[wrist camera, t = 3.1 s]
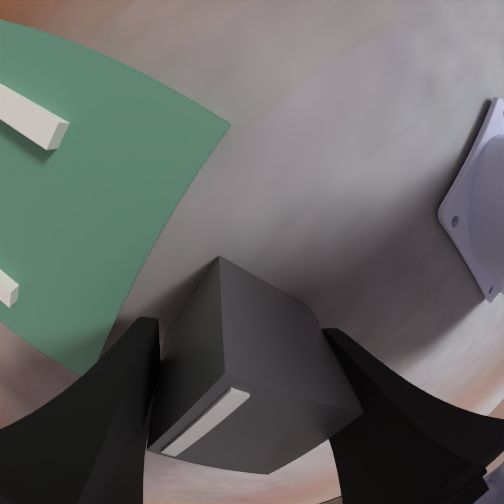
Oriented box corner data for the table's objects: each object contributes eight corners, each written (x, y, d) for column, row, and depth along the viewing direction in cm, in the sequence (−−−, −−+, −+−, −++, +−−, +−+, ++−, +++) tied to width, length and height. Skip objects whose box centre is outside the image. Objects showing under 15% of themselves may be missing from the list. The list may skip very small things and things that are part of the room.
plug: (309, 307, 10) (365, 414, 5) (249, 372, 11) (268, 476, 6) (219, 255, 9) (225, 375, 4) (165, 336, 10) (146, 452, 5)
